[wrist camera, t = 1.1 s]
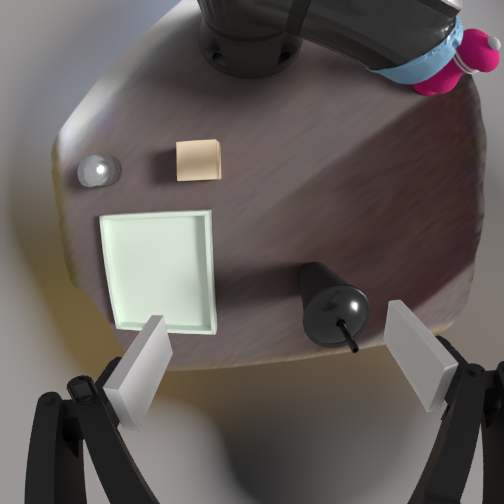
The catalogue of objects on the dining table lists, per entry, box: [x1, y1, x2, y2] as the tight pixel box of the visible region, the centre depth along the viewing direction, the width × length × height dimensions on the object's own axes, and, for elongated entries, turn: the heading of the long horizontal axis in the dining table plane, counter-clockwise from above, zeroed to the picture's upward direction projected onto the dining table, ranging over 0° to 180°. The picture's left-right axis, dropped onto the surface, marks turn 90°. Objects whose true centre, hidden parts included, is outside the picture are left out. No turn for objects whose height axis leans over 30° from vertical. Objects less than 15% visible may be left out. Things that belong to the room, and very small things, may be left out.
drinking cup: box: [299, 262, 371, 353], centre depth 33 cm, size 8×8×20 cm
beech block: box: [177, 139, 221, 181], centre depth 37 cm, size 5×5×5 cm
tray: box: [99, 209, 218, 334], centre depth 42 cm, size 19×17×2 cm
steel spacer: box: [77, 155, 122, 187], centre depth 36 cm, size 4×4×6 cm
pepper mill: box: [411, 29, 500, 96], centre depth 25 cm, size 7×7×20 cm
